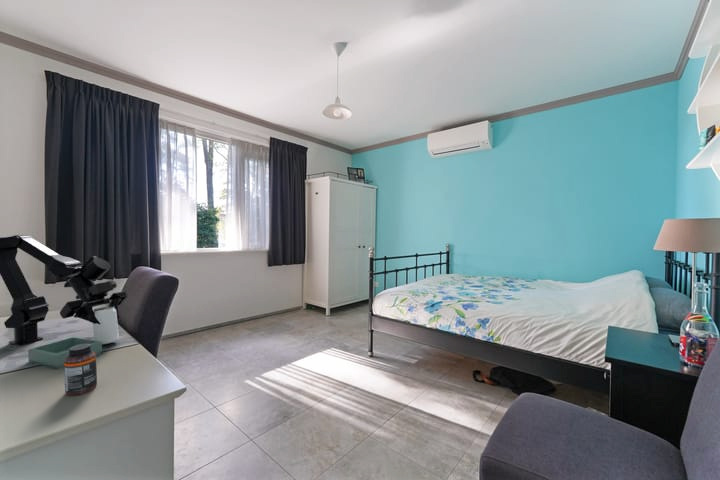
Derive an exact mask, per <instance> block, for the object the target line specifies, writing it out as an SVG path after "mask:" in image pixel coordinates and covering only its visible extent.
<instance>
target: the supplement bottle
mask: <svg viewBox="0 0 720 480" xmlns="http://www.w3.org/2000/svg"><path fill="white" fill-rule="evenodd" d="M63 368H64V369H63V371H64V374H63V375H64V388H65V389H64V390H65V391H64V392H65V394H66V395H67V396H79V395H83V394H84V393H88V392H91V390H93V389H95V388H96V387H97V385H98V376H97V375H98V373H97V372H98V371H97V370H98V369H97V355H96V354H95V352H93V351H91V345H90V344H80V345H76V346H73V347H71V348H69V356H68V357H67V358H66V359H65V360H64V367H63Z"/></svg>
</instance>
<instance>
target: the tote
mask: <svg viewBox="0 0 720 480" xmlns="http://www.w3.org/2000/svg"><path fill="white" fill-rule="evenodd" d="M80 344H90V345H91V351H93V352H95V354H96V356H97V355H98V356H99V355H101V354H103V349H102V347H103V345H102V341H98V340H95V339H91V338H85V337H82V336H75V335H74V336H70V337H67V338H64V339H59V340H56V341H52V342H49V343H46V344H42V345H39V346H36V347H31V348H28V349H27V351H28V352H27V354H28V355H27V356H28V357H27V358H28V359H27V360H28V363H31V364H35V365H40V366H44V367H48V368H52V369H55V370H58V369H61V368H64V360H65V359H66V358H67V357H68V356H69V348H71V347H73V346H76V345H80Z"/></svg>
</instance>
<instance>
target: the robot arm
mask: <svg viewBox="0 0 720 480" xmlns="http://www.w3.org/2000/svg"><path fill="white" fill-rule="evenodd" d="M18 249H20V250H21V251H22V252H25V254H27V255H29V256H31V257H32V258H34V259H36V260H38V261H39V262H41V263H42V264H44V265H45V266H46V268H47V270H48V272H49V273H50V274H52V276H54V277H55V278H57V279H64V278H69V277H70V279H66V280H65V283H64V285H63V287H64V288H72V289H73V291H74V292H75V294H76V296H75V299H76V300H72V301H71V300H70V301H67V302H66V303H65V304H64V305H63V306H62V308H61V309H60V311H59V315H60V317H61V318H62V319H68V318H72V317H74V318H79V319H81V320H84V321H88V322H89V323H92V324H93V323H94V324H96V323H97V324H100V322H99V321H98V320H97V319H96V317H95V313H94V307H99V306H102V305H103V306H104V305H105V307H107V306H114V308H115V310H116V313H117V321H118V320H120V315H119V306H121V305H122V304H123V303H124V301H126V299H127V298H128V297H129V295H128V294H127V292H126V291H122V290H121V291H117V292H113V293H112V294H110V296H109V297H107V296H108V294H109V292H111V291H114V289H116V288H117V282H116V281H114V279H108V280H107V281H105V282H99V283H96V284H95V282H94V280H95V281H96V280H99V279H100V278H101V277H102V276H104V274H106V273H107V272H108V271H109V270H110V269H111V268H112V266H111V264H110V262H108V261H106V260H105V259H103V258H100V257H98V256H97V255H94V256H91V257H90V258H89V259H88V260H87V261H86V262H85V263H82V262H81V261H79V260H77V259H74V258H72V257H68V256H64V255H61V254H59V253H57V252H55V251H54V250H52V249H51V248H49V247H48V246H46V245H44V244H42V243H41V242H39V241H38V240H36V239H34V237H33V236H32V235H30V234H29V235H28V234H18V235H17V234H15V235H10V236H6V237H5V236H4V237H0V277H1V279H2V280H3V282H4V285H5V287H6V288H7V290H8V293H9V294H10V296H11V298H12V300H13V301H12V304H11V307H10V312H11V314H12V315H10V316H9V317H8V318H7V319H6V320H5V321H4V324H3V325H4V326H5V328H6V329H13V336H14V337H13V340H10V341H9V342H8V344H10V345H11V344H12V345H17V346H22V345H25V344H29V343H34V342H37V341H40V340H44V337H42V336H39V327H38V325H39V323H40V322H44V321H45V320H46V318H47V317H46V316H47V314H48V312H49V306H50V305H49V304H48V302H47V301H46V297H44V295H41V296H37V295H36V294H34V293H33V291H32V289H31V286H30V285H29V283H28V281H27V279H26V277H25V275H24V273H23V271H22V269H21V268H20V265H19V263H18V261H17V260H16V259H17V254H18Z"/></svg>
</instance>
